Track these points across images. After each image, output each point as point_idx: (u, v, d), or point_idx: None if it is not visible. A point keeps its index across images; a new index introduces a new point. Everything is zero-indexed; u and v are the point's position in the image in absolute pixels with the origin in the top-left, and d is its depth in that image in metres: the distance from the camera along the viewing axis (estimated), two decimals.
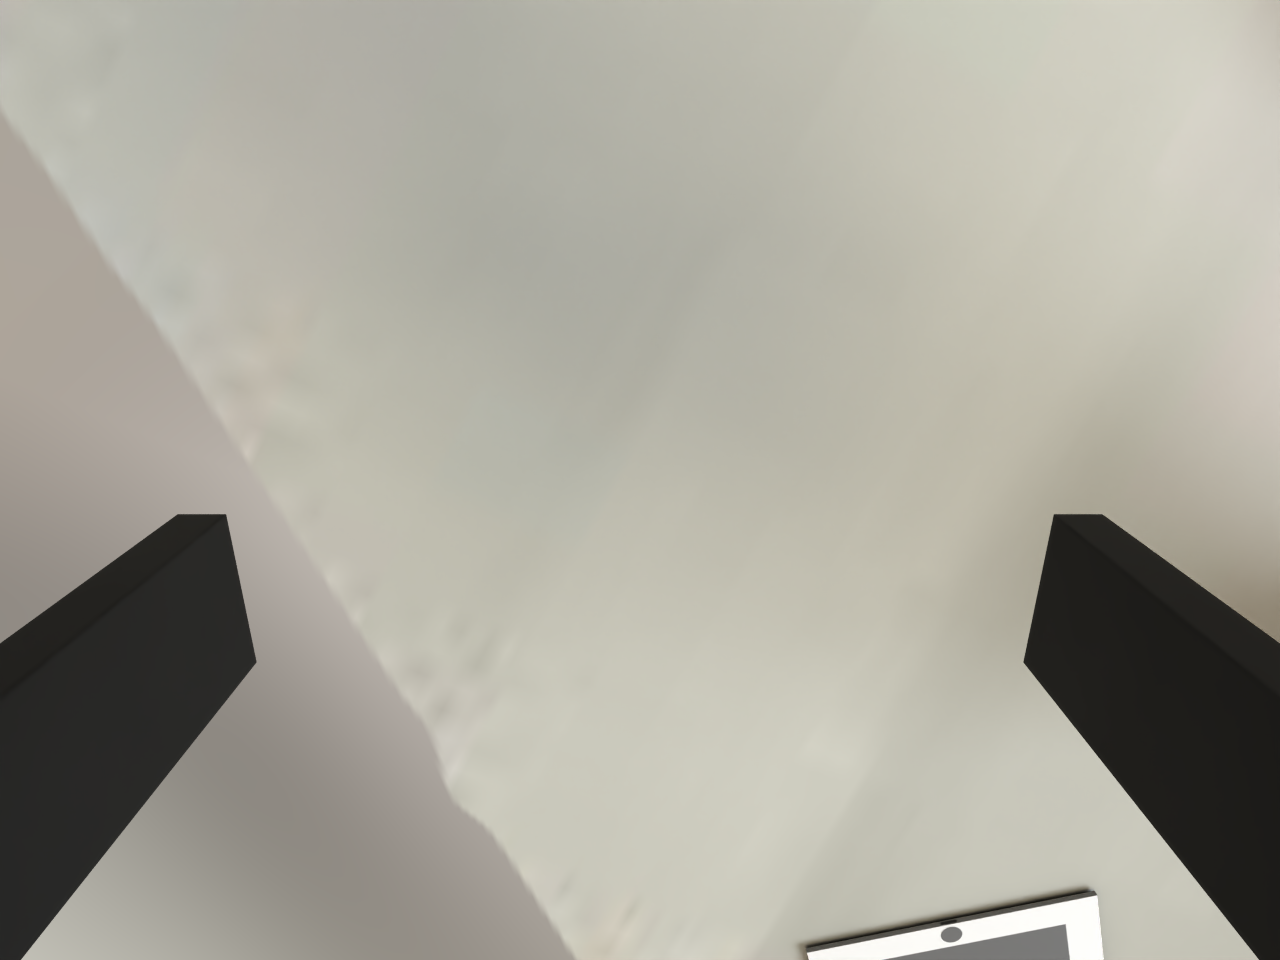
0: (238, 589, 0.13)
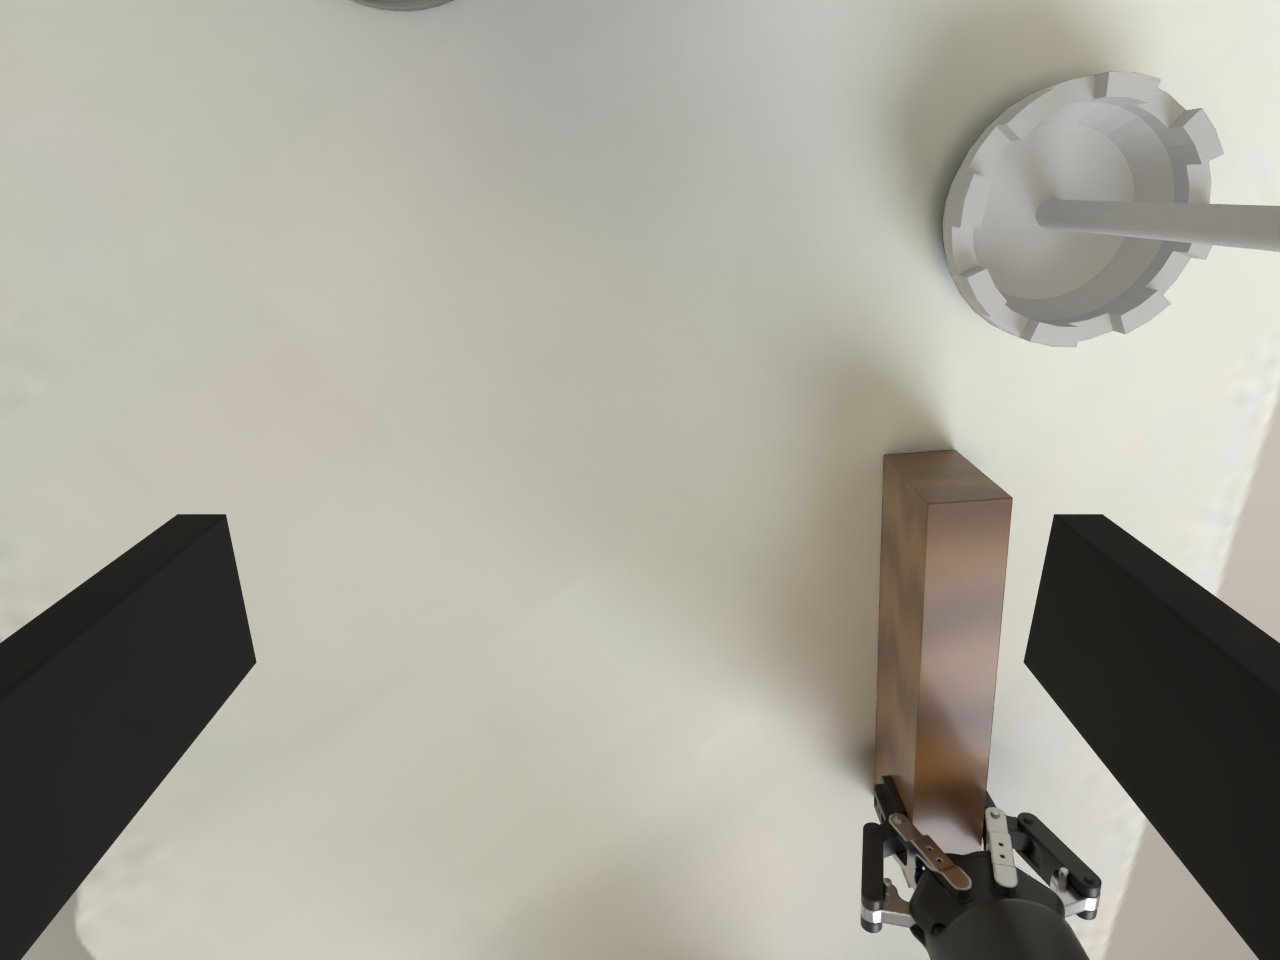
0: (238, 589, 0.13)
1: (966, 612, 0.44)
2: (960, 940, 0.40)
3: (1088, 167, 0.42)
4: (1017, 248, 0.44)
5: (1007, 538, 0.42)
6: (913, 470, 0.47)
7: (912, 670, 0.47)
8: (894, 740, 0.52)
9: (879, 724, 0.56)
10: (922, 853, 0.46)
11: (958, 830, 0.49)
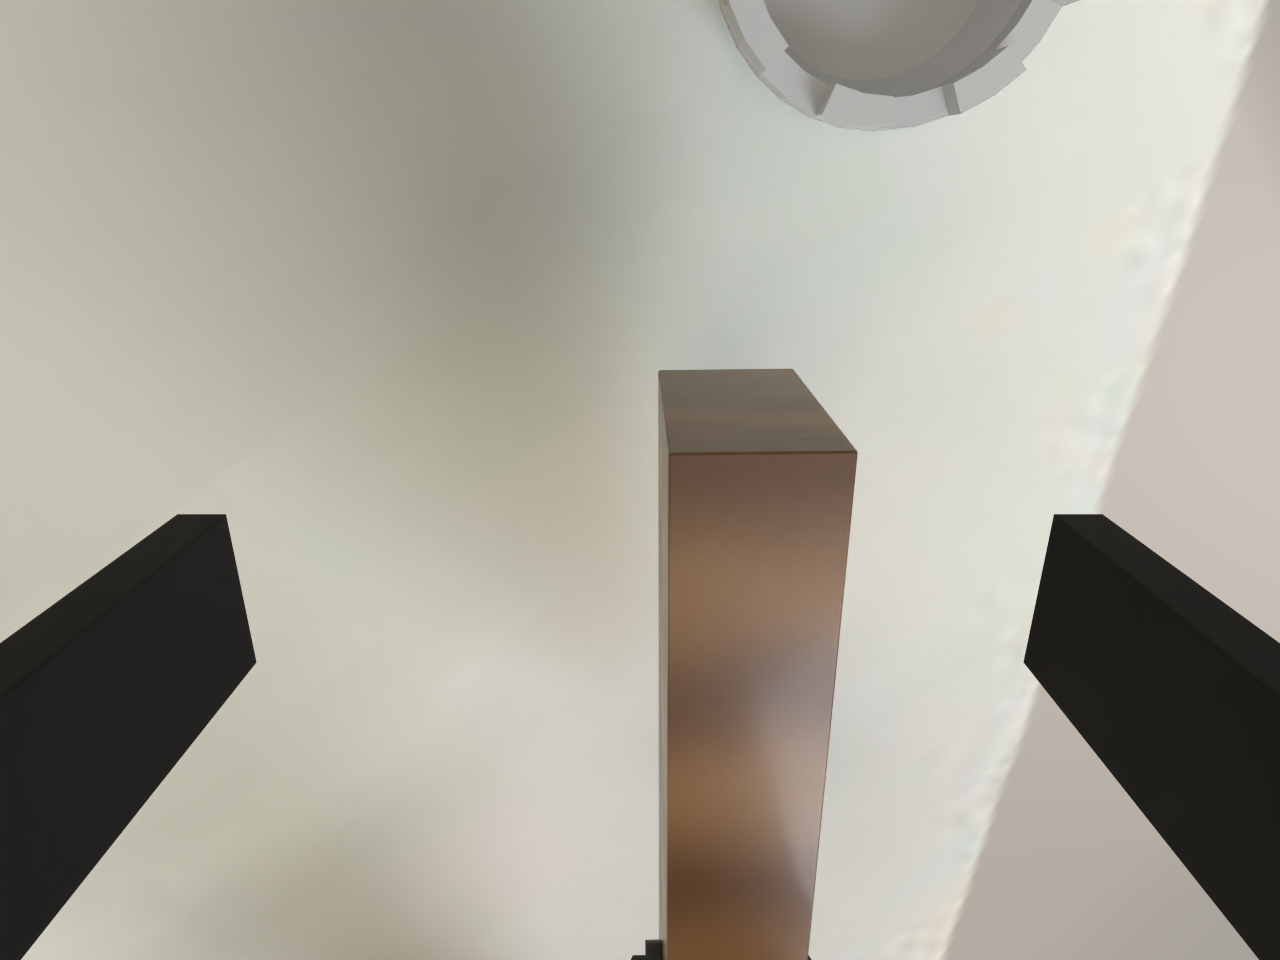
0: (238, 590, 0.13)
1: (760, 691, 0.21)
2: None
3: None
4: None
5: (845, 541, 0.19)
6: (690, 394, 0.23)
7: (665, 789, 0.24)
8: (662, 888, 0.29)
9: (659, 843, 0.33)
10: None
11: None
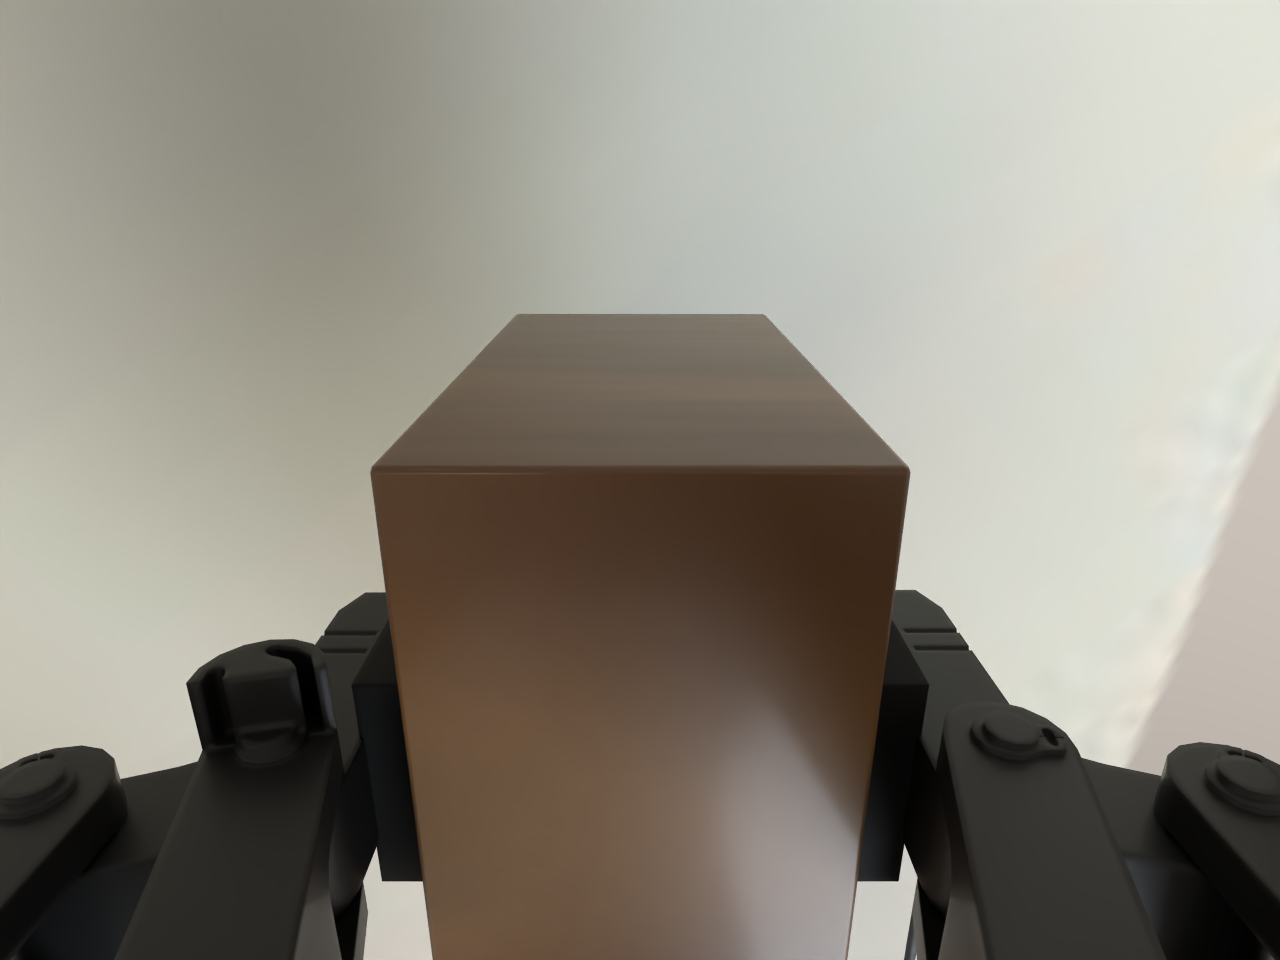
0: None
1: None
2: None
3: None
4: None
5: (870, 709, 0.07)
6: (545, 346, 0.11)
7: None
8: None
9: None
10: None
11: None
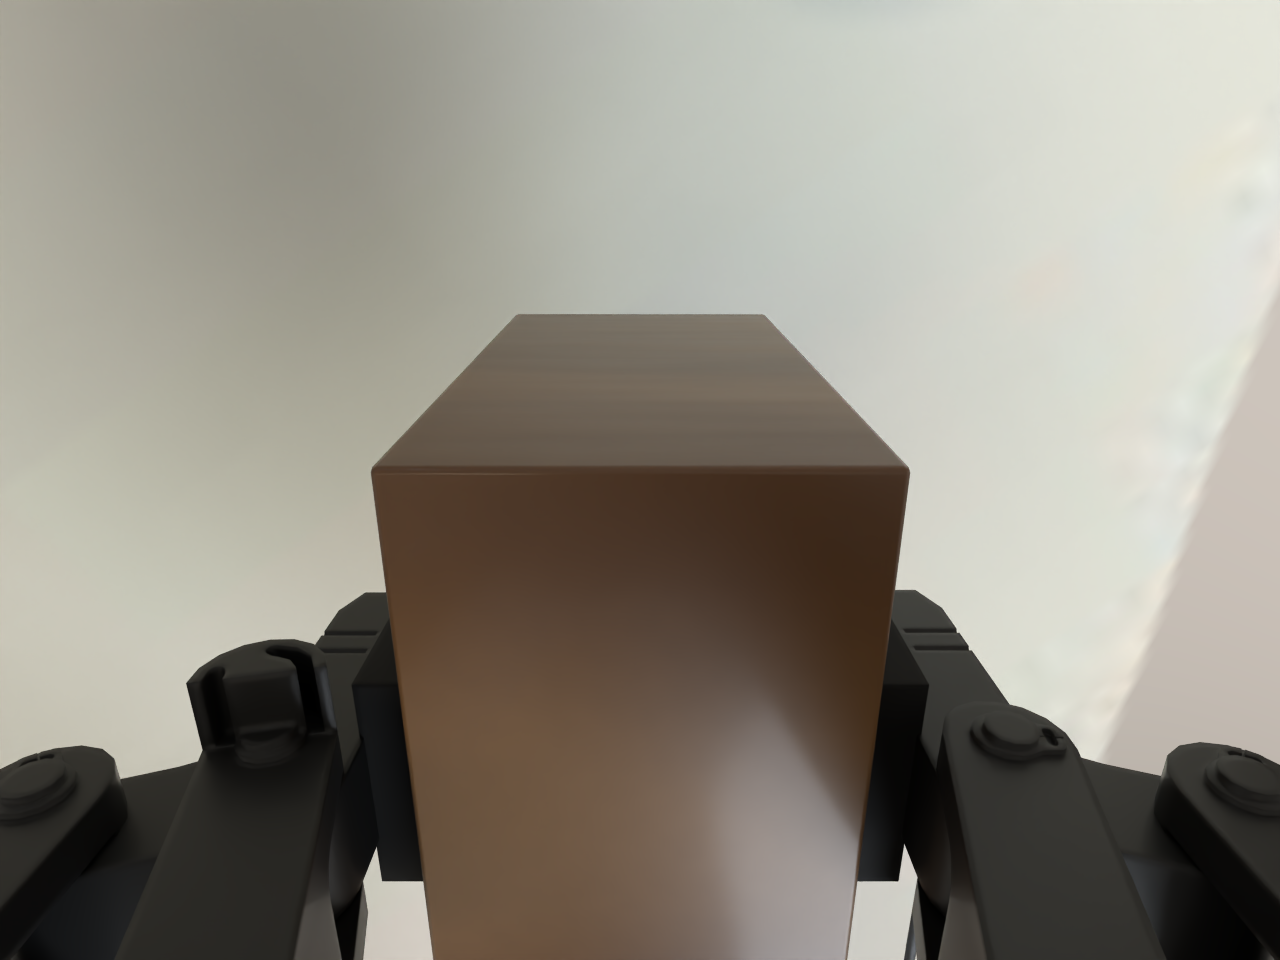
0: None
1: None
2: None
3: None
4: None
5: (870, 709, 0.07)
6: (545, 346, 0.11)
7: None
8: None
9: None
10: None
11: None
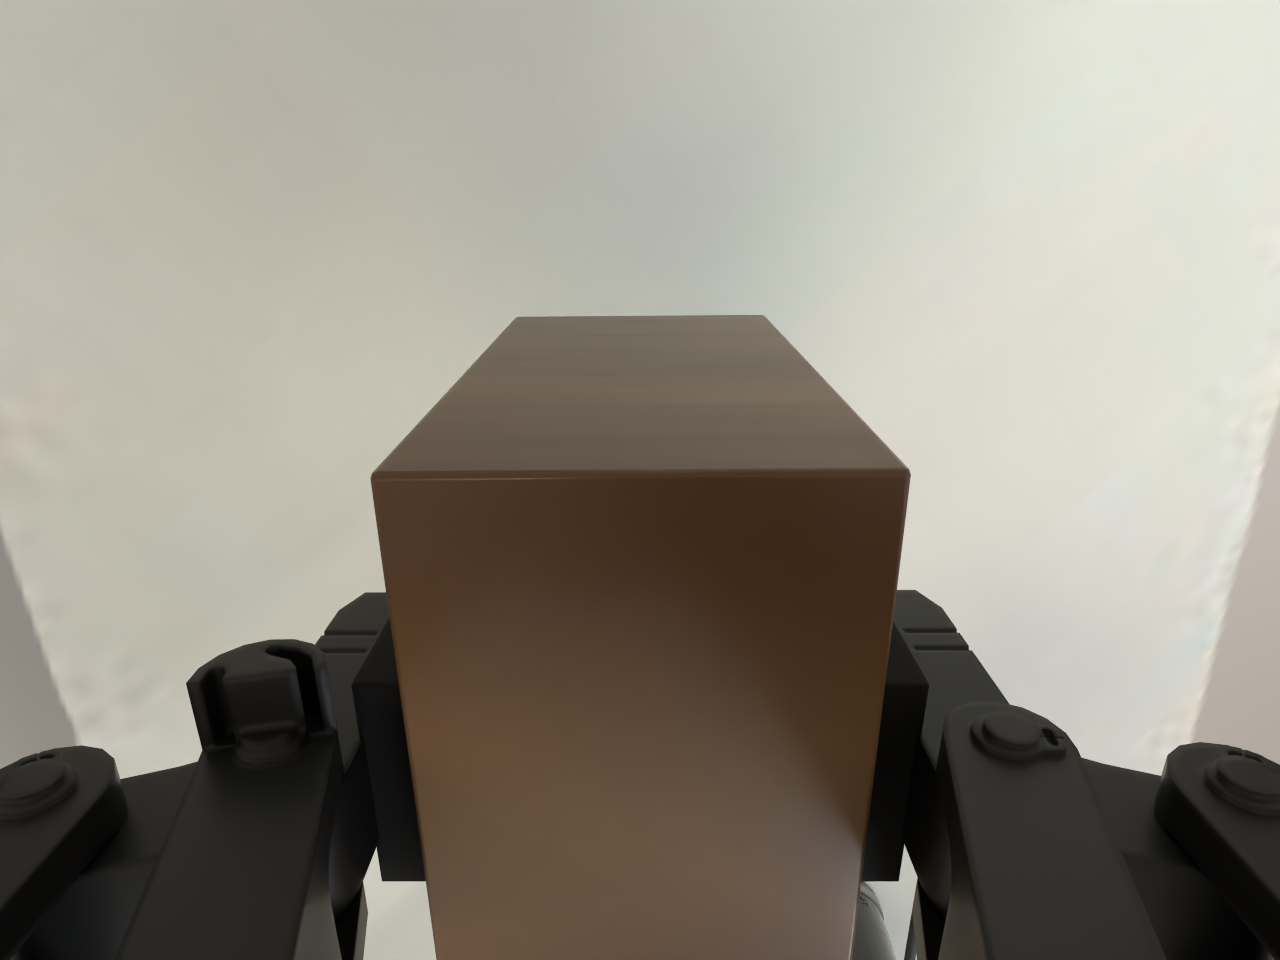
0: None
1: None
2: None
3: None
4: None
5: (872, 711, 0.07)
6: (545, 349, 0.11)
7: None
8: None
9: None
10: None
11: None
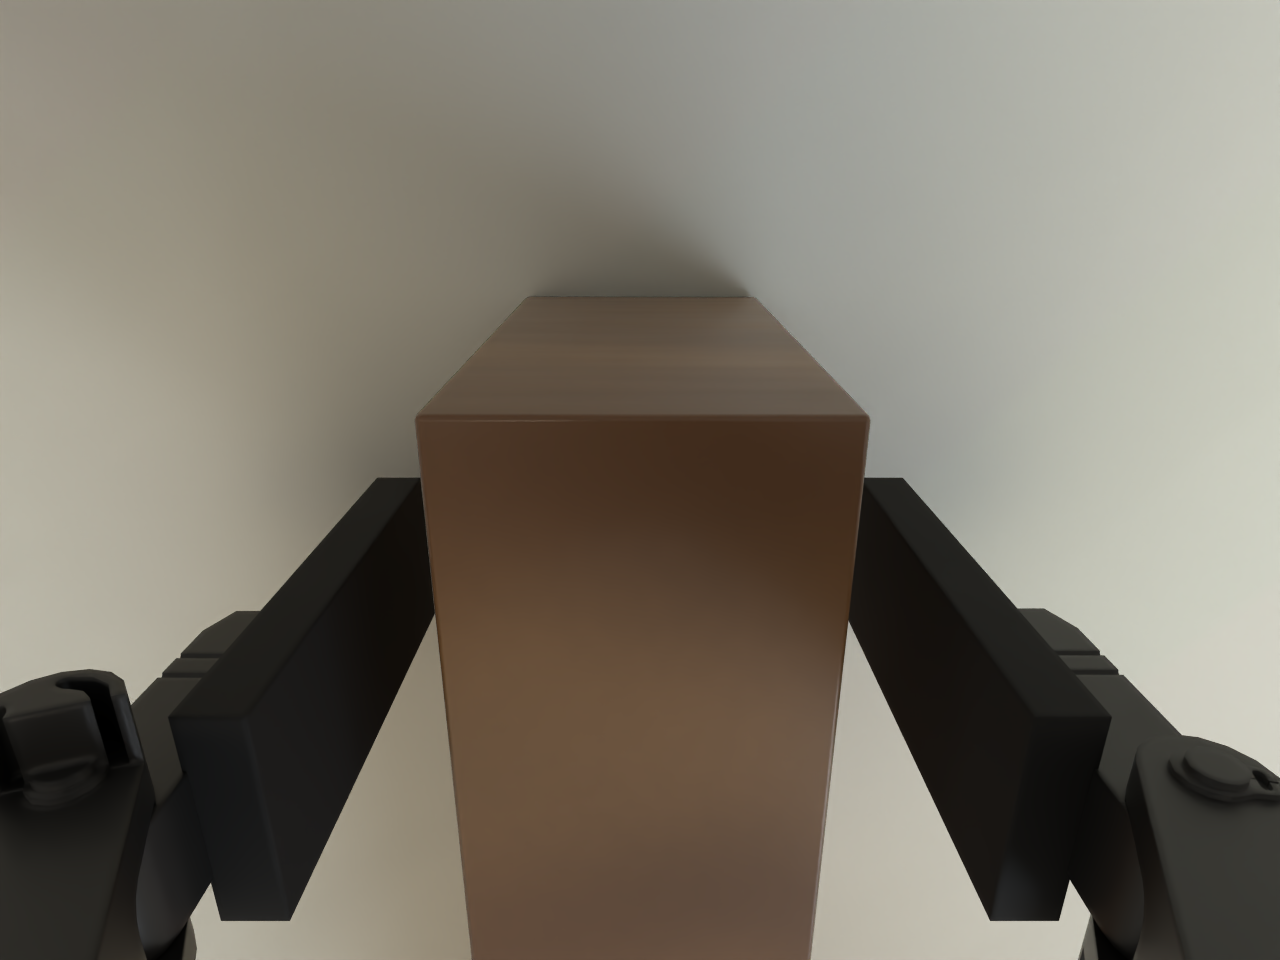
0: (424, 546, 0.14)
1: (660, 924, 0.10)
2: None
3: None
4: None
5: (839, 627, 0.08)
6: (555, 323, 0.12)
7: None
8: None
9: None
10: None
11: None
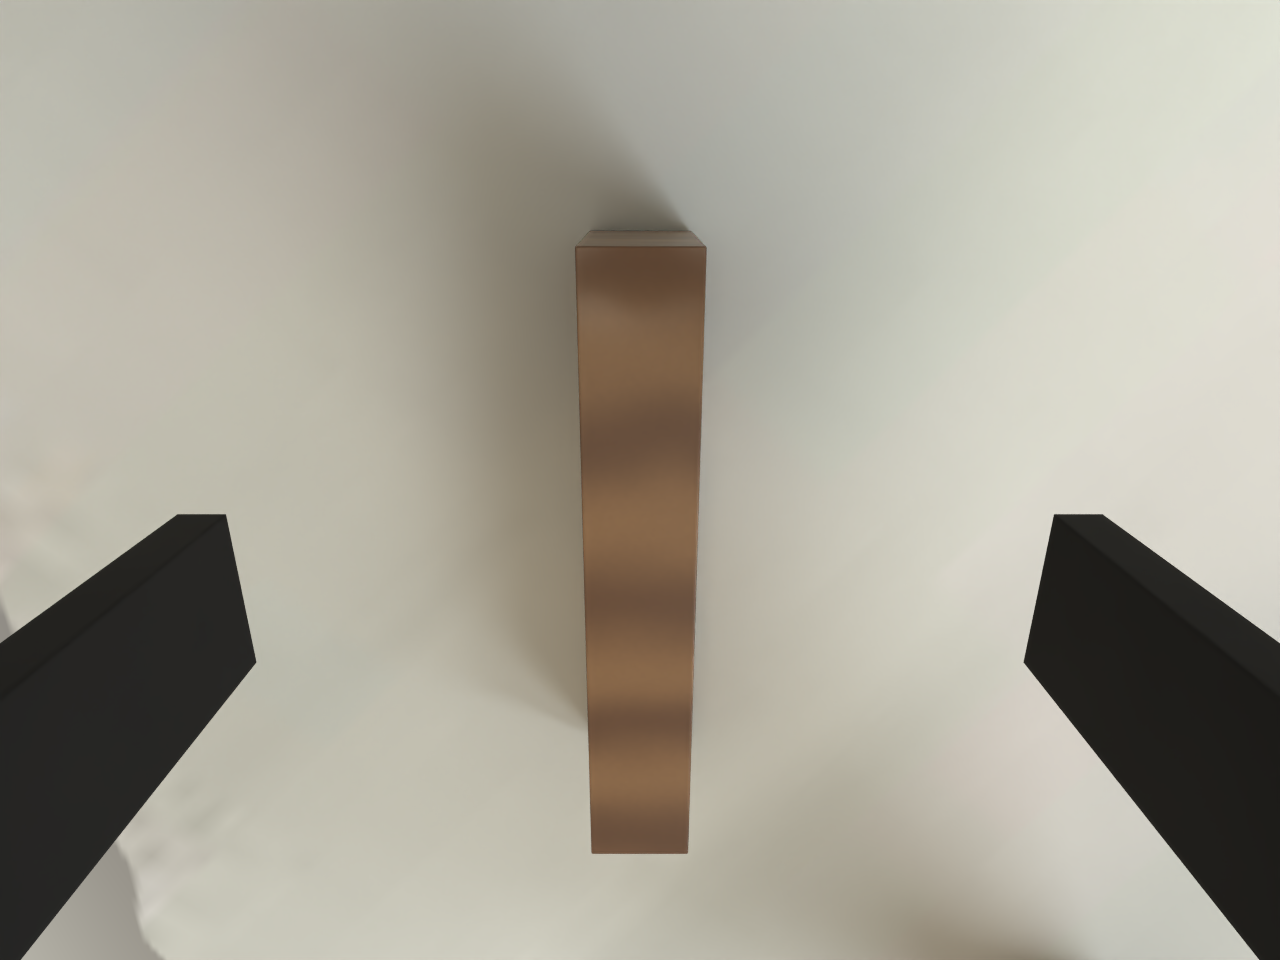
0: (237, 589, 0.13)
1: (647, 437, 0.29)
2: None
3: None
4: None
5: (701, 316, 0.28)
6: (606, 235, 0.31)
7: None
8: None
9: None
10: None
11: (656, 774, 0.35)
